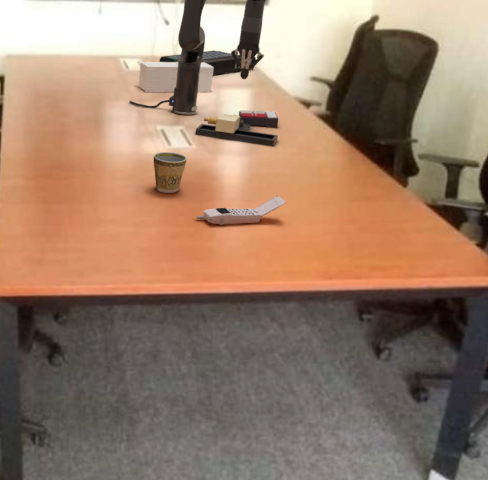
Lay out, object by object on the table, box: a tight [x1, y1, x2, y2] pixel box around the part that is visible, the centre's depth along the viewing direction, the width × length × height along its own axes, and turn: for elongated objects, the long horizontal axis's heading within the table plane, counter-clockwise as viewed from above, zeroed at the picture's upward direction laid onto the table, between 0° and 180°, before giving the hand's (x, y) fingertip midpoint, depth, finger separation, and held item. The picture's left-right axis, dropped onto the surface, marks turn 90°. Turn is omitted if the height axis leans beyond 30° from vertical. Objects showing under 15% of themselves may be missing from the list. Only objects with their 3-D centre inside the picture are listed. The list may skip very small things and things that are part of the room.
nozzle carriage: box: [203, 113, 240, 134], centre depth 290 cm, size 13×9×6 cm
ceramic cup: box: [153, 151, 187, 194], centre depth 234 cm, size 13×10×10 cm
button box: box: [238, 119, 252, 131], centre depth 301 cm, size 12×9×3 cm
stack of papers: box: [138, 61, 214, 93], centre depth 352 cm, size 32×11×11 cm, turn 107°
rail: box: [194, 123, 279, 147], centre depth 290 cm, size 30×8×2 cm, turn 71°
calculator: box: [238, 109, 279, 129], centre depth 310 cm, size 11×4×15 cm
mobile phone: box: [196, 195, 287, 226], centre depth 215 cm, size 6×6×25 cm
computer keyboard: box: [159, 50, 257, 76], centre depth 400 cm, size 45×28×7 cm, turn 135°
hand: (243, 78), depth 295 cm, fingers closed
